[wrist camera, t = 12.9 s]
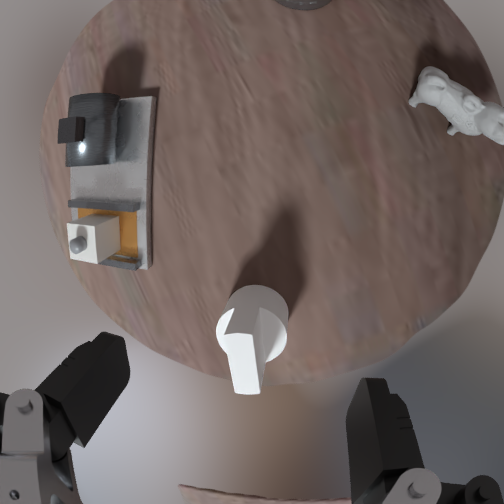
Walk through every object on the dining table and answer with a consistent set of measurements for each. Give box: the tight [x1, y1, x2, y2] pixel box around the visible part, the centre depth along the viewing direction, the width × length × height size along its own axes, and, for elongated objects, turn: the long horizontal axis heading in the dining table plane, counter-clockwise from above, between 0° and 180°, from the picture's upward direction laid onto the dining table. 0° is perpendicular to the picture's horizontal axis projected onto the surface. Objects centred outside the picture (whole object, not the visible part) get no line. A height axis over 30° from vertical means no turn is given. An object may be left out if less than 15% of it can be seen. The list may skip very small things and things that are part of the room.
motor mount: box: [58, 93, 157, 271], centre depth 35 cm, size 24×14×10 cm, turn 175°
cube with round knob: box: [67, 214, 121, 264], centre depth 36 cm, size 5×5×8 cm
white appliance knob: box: [216, 285, 289, 394], centre depth 37 cm, size 9×9×12 cm
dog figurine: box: [409, 66, 504, 145], centre depth 25 cm, size 5×13×11 cm, turn 66°
